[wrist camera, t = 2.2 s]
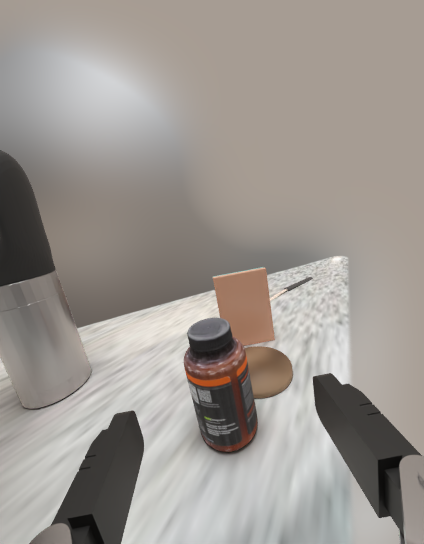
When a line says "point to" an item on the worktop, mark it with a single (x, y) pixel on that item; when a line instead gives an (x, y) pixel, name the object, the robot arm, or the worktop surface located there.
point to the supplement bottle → (220, 385)
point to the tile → (246, 305)
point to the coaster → (268, 371)
